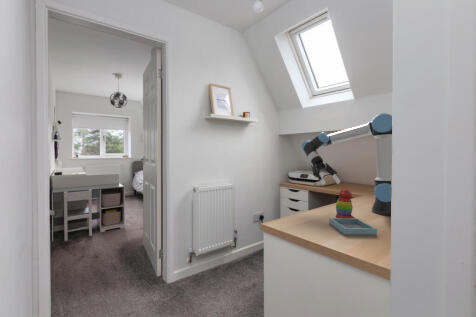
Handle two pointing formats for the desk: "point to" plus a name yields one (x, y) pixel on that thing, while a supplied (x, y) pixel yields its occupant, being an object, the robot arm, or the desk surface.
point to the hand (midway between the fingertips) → (331, 183)
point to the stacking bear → (344, 204)
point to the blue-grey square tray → (352, 227)
